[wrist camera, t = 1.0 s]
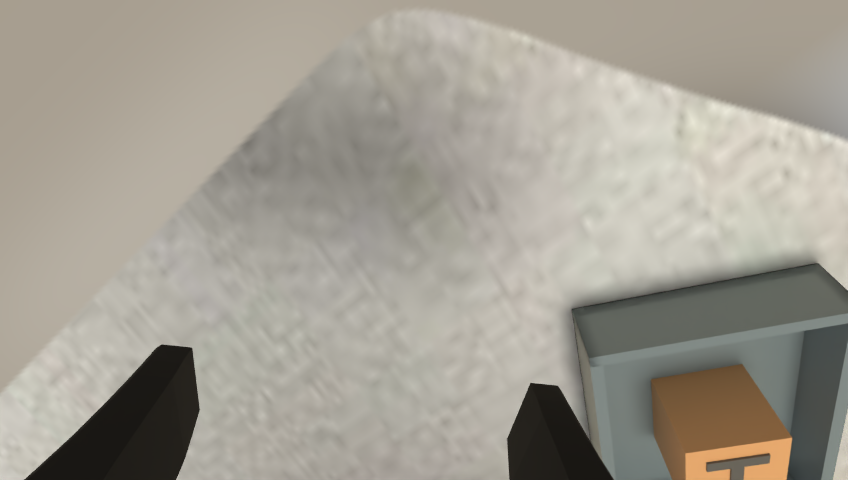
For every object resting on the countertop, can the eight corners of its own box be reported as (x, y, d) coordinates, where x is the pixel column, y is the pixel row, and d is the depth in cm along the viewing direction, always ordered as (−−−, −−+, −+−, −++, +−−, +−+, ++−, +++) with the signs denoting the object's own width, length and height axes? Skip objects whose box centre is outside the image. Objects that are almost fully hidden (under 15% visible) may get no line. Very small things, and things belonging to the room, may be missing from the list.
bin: (789, 462, 29) (824, 517, 27) (597, 490, 30) (613, 544, 28) (818, 263, 23) (868, 309, 20) (571, 309, 24) (588, 358, 21)
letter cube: (738, 423, 27) (785, 501, 23) (653, 435, 27) (686, 514, 24) (742, 363, 25) (793, 439, 21) (650, 379, 25) (686, 455, 22)
